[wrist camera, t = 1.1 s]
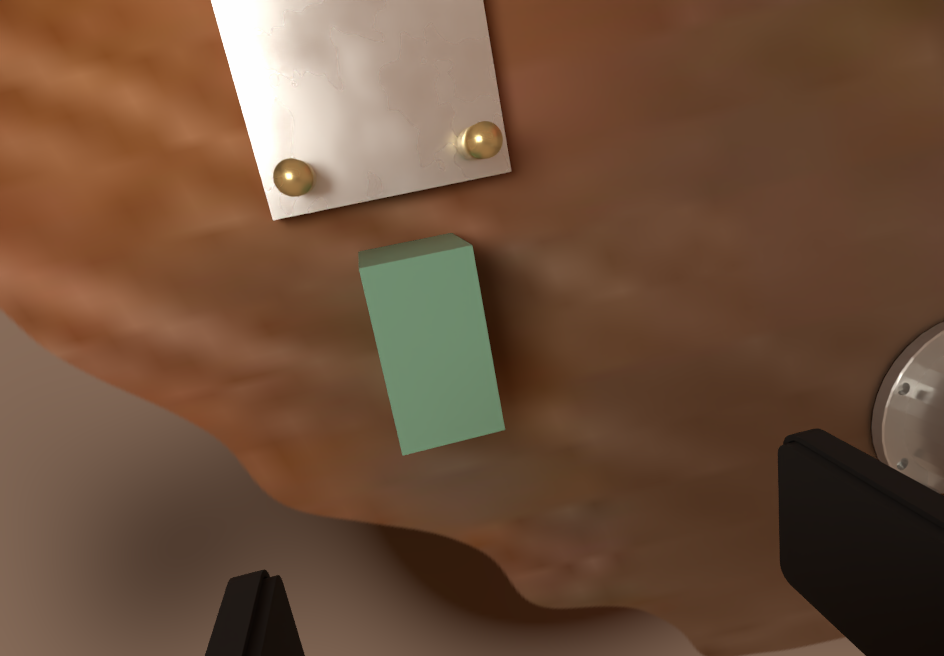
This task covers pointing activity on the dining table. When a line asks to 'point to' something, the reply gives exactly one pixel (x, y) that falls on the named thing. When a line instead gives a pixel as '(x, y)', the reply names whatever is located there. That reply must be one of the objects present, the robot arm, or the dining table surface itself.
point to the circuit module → (432, 340)
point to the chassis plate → (363, 97)
